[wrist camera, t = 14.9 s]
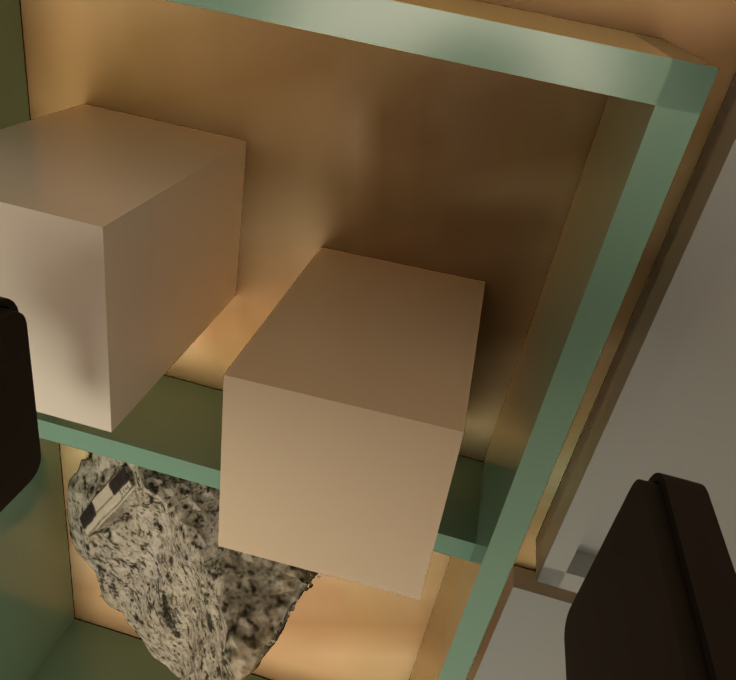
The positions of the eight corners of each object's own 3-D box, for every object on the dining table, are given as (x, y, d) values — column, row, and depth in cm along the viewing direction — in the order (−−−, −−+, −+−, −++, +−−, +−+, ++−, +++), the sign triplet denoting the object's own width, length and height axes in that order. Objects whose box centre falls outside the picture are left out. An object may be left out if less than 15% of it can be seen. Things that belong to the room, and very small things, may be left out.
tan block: (485, 281, 16) (464, 432, 10) (451, 417, 18) (419, 600, 12) (321, 246, 16) (223, 374, 11) (306, 383, 18) (218, 545, 13)
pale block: (247, 140, 15) (102, 227, 10) (236, 294, 17) (111, 432, 12) (85, 103, 16) (-134, 168, 10) (93, 258, 18) (-87, 377, 12)
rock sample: (-43, 395, 16) (26, 812, 12) (268, 327, 19) (390, 645, 15) (29, 513, 24) (81, 777, 21) (233, 453, 27) (306, 674, 24)
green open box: (662, 38, 12) (718, 68, 9) (408, 733, 25) (386, 870, 21) (-16, -101, 14) (-220, -127, 10) (61, 623, 26) (-18, 734, 22)
